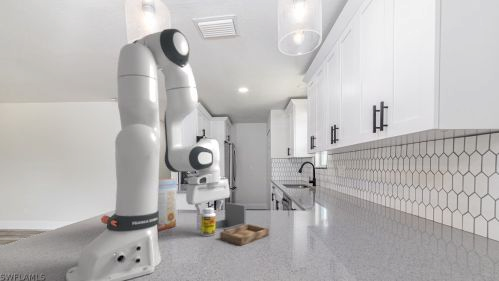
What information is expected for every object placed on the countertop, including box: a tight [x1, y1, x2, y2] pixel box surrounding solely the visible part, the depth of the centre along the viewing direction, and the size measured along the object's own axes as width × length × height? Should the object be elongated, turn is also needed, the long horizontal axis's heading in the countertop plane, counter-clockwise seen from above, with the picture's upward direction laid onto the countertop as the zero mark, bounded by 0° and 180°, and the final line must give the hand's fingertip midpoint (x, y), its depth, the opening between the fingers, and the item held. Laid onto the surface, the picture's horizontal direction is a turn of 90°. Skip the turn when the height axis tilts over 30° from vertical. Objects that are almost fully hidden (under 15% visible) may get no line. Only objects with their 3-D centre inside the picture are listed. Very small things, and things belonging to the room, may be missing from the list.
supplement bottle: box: [200, 207, 217, 237], centre depth 95 cm, size 6×6×10 cm
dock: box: [215, 202, 247, 231], centre depth 103 cm, size 12×12×10 cm
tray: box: [219, 223, 270, 246], centre depth 92 cm, size 16×11×2 cm
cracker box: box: [157, 178, 178, 232], centre depth 103 cm, size 14×6×21 cm, turn 144°
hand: (209, 212), depth 96 cm, fingers open, 8 cm apart
